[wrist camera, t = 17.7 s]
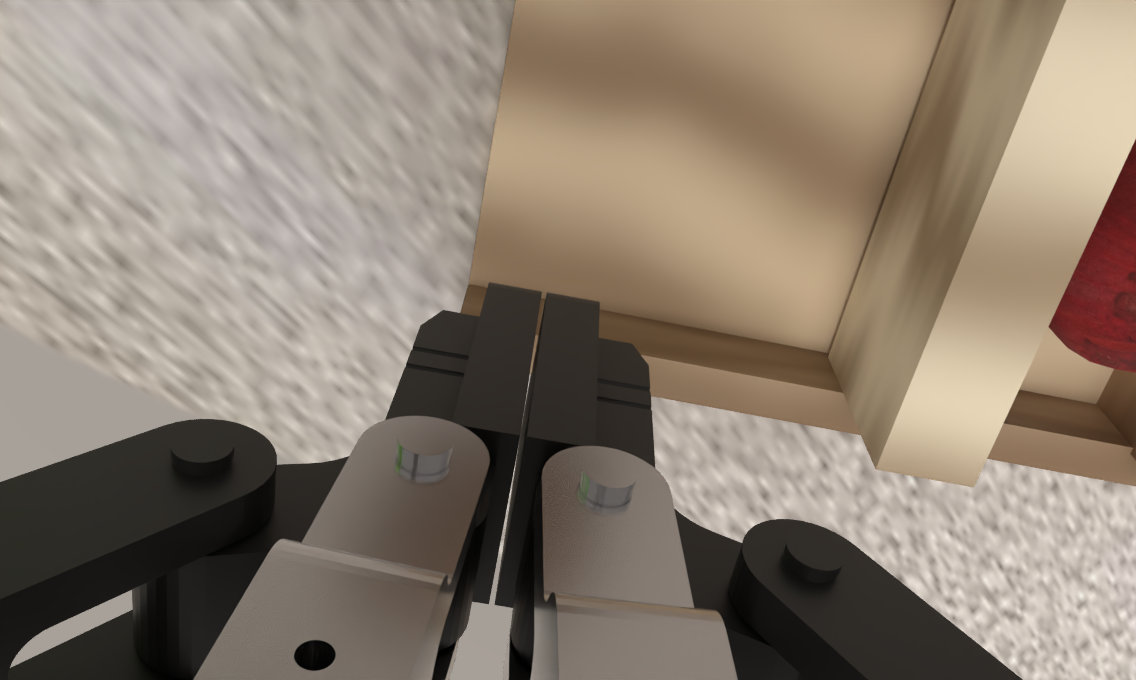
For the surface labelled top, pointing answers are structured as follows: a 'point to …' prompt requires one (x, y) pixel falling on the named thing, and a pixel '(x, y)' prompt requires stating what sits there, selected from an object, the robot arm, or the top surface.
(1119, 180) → the onion
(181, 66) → the top surface
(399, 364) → the top surface
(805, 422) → the vise base
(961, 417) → the jaw
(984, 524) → the top surface
